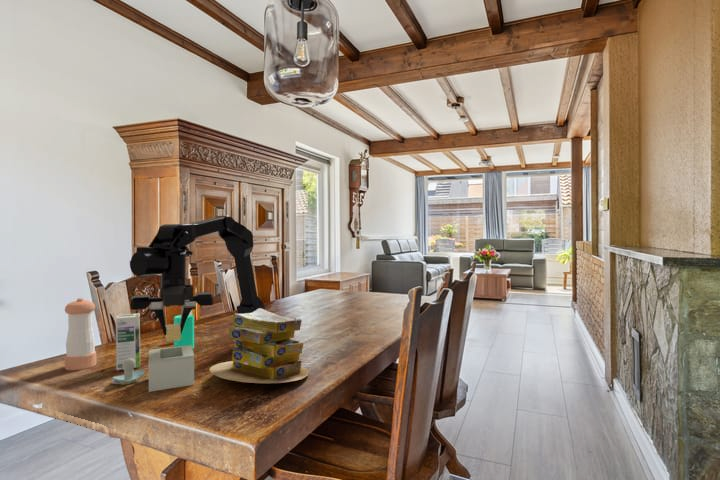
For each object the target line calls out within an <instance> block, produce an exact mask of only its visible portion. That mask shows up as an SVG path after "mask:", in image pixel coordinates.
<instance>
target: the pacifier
mask: <svg viewBox="0 0 720 480" xmlns="http://www.w3.org/2000/svg"><path fill="white" fill-rule="evenodd" d="M134 366H135V360H134V359H133V358H129V359H127V360H125V361H124V363H123V365H122V368H123V369H122V370H123V373H124V374H122V375H118V376H117V375H116V376H112V377H111V378H112V381H111V382H110V383H111V384H112V385H121V386H124V385H129V384H132V383H135V382H137V380H138V379H140V378H142V377H143V376H144V375H145V373H146V370H145V369H143V368H141V369H137V370H134V369H135V368H134Z"/></svg>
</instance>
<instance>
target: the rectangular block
mask: <svg viewBox="0 0 720 480" xmlns="http://www.w3.org/2000/svg"><path fill="white" fill-rule="evenodd" d="M177 340H181V328H180V325H179V324H174V323H169V324H166V335H165V341H166V342H174V341H177Z"/></svg>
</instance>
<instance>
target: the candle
mask: <svg viewBox="0 0 720 480" xmlns="http://www.w3.org/2000/svg"><path fill="white" fill-rule="evenodd" d="M180 321H181V314H178V315H176V316H173V324H179V325H180ZM188 345H191V346H192V349H193V350H194V348H195V316H194V314H189V315H188V317H187V319H186V322H185V325H184V328H183V331H182V334H181V340H177V341H173V347H179V346H188Z"/></svg>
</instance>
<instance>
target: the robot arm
mask: <svg viewBox="0 0 720 480" xmlns="http://www.w3.org/2000/svg"><path fill="white" fill-rule="evenodd" d="M212 233H218V236H219V237H220V239H221V240H223V241H224V243H225V246H226V249H227V251H228V252H229V254H230V255H231V256H232V257H233V259H234V265H235V270H236V274H237V280H238V281H237V282H238V285H239V291H240V296H241V300H240V303H239V305H237V306H236V311H237V314H243V313H252V312H254V311H256V310H257V309H259V308H261V309H264V310H266V306H265V304H264V302H263V301H262V300H261V298H260V297H259V296H258V293H257V288H256V281H255V276H254V269H253V263H252V258H251V253H252V251H253V248H254V236H253V232H252V231H251V230H250V229H248V228H247V227H246V226H245V225H243V224H241V223H240V222H238V221H236V220H235V219H234V218H233V217H231V216H229V215H216V216H215V217H211V218H207V219H202V220H199V221H195V222H190V223H183V224H182V223H180V224H179V223H177V224H175V223H174V224H173V223H170V224H162V225H160V226H159V228H158V230H157V232H156V234H155V235H154V237H153V239H152V240H151V241H150V244H149V245H148V246H136V252H134V253H133V255H131V258H130V260H129V268H130V271H131V273H132V274H133V275H134V276H136V277H143V276H144V277H146V276H155V275H160V279H161V280H160V297H151V296H150V294H140V295H139V294H137V295H133V296H132V297H131V298H130V310H132V311H133V310H134V311H135V310H145V309H146V310H147V308H148V307H149V312H150V313H155V315H156V318H157V319H158V321H159V323H160V327H161V330H162V332H163V335H164V336H166V325H167V323H166V318H165V311H164V310H165V309H164V307H166V308H169V307H171V306H172V307H173V306H179V307H181V306H182V307H181V314H180V315H181V321H180V328H181V334H182V331H183V328H184V325H185V322H186V319H187V317H188V315H190V313H191V312H192V310H197V306H196V305H197V304H198V305H199V306H200V307H203V306H213V305H214V295H213V294H212V293H211V292H209V291H207V292H204V291H203V292H202V291H201V292H195V295H194V284H187V283H186V282H187V281H186V279H187V277H186V276H187V273H186V271H187V256H192V255H193V252H192V250H191V249H189V248H188V247H187V246H188V245H190V244H192V243H194V242H195V240H196V239H198V238H199V237H203V236H206V235H210V234H212Z"/></svg>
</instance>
